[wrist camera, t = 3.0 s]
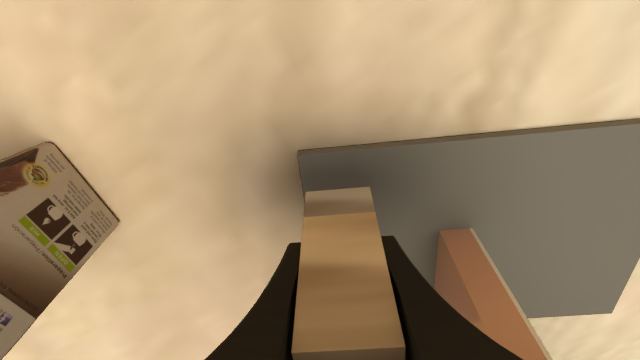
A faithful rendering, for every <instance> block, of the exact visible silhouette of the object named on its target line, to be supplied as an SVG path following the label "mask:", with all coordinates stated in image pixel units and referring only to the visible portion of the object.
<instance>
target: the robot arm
mask: <svg viewBox="0 0 640 360" xmlns="http://www.w3.org/2000/svg"><path fill="white" fill-rule="evenodd" d="M381 239H382V244H383V248H384V253H385V257H386V262H387V266H388V271H389V275H390V280H391V284H392V289H393V293H394V298H395V302H396V307H397V311H398V315H399V320H400V324H401V329H402V333H403V338H404V342H405V347H406V348H405V360H523V359H522V358H520V357H519V356H517V355H515V354H514V353H512V352H511V351H509V350H508V349H506V348H504V347H503V346H501V345H500V344H498V343H497V342H495V341H494V340H493V339H491V338H490V337H488V336H487V335H486V334H484V333H483V332H482V331H480V330H479V329H478V328H477V327H475V326H474V325H473V324H472V323H470V322H469V321H468V320H467V319H465V318H464V317H463V316H462V315H461V314H460V313H458V312H457V311H456V310H455V309H454V308H453V307H452V306H451V305H450V304H449V303H448V302H447V301H445V300H444V299H443V298H442V297H441V296H440V295H439V294H438V293H437V291H436V290H435V289H434V288H433V287H432V286H431V285H430V284H429V283H428V282H427V280H426V279H425V278H424V277H423V276H422V275H421V273H420V272H419V271H418V270H417V268H416V267H415V266H414V265H413V263H412V262H411V261H410V259H409V258H408V257H407V255H406V254H405V252H404V251H403V249H402V248H401V246H400V245H399V243H398V241H397V240H396V238H395V237H394V236H393V235H391V236H381ZM300 251H301V242H299V243H290V244H289V245H288V247H287V249H286V251H285V253H284V256H283V258H282V260H281V262H280V264H279V266H278V268H277V269H276V271H275V273H274V275H273V276H272V278H271V280H270V282H269V283H268V285H267V286H266V288H265V290H264V291H263V293H262V294H261V296H260V297H259V299H258V300H257V302H256V303H255V304H254V306H253V307H252V308H251V310H250V311H249V312H248V314H247V315H246V316H245V317H244V319H243V320H242V321H241V322H240V323H239V325H238V326H237V327H236V328H235V329H234V330H233V332H232V333H231V334H230V335H229V336H228V337H227V338H226V339H225V340H224V341H223V342H222V343H221V344H220V345H219V346H218V347H217V348H216V349H215V350H214V351H213V352H212V353H211V354H210V355H209V356H208V357H207V358H206V359H205V360H293V357H292V353H291V352H292V341H293V330H294V319H295V307H296V296H297V285H298V274H299V263H300Z"/></svg>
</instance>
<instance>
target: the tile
mask: <svg viewBox="0 0 640 360" xmlns="http://www.w3.org/2000/svg"><path fill="white" fill-rule="evenodd" d="M434 289H435V290H436V291H437V293H438V294H439V295H440V296H441V297H442V298H443V299H444V300H445V301H447V302H448V303H449V304H450V305H451V306H452V307H453V308H454V309H455V310H456V311H457V312H458V313H460V314H461V315H462V316H463V317H464V318H465V319H467V320H468V321H469V322H470V323H472V324H473V325H474V326H475V327H477V328H478V329H479V330H480V331H482V332H483V333H484V334H486V335H487V336H488V337H490V338H491V339H493V340H494V341H495V342H497V343H498V344H500V345H501V346H503V347H504V348H506V349H508V350H509V351H511V352H512V353H514V354H515V355H517V356H519V357H520V358H522V359H523V360H552V358H551V356H550V355H549V353H548V351H547V350H546V348H545V346H544V345H543V343H542V341H541V340H540V338H539V336H538V335H537V333H536V332H535V330H534V328H533V327H532V325H531V323H530V322H529V320H528V318H527V317H526V315H525V313H524V312H523V310H522V309H521V307H520V305H519V304H518V302H517V300H516V299H515V297H514V295H513V294H512V292H511V290H510V289H509V287H508V285H507V284H506V282H505V281H504V279H503V277H502V276H501V274H500V272H499V271H498V269H497V267H496V266H495V264H494V262H493V261H492V259H491V258H490V256H489V254H488V253H487V251H486V249H485V248H484V246H483V244H482V243H481V241H480V239H479V238H478V236H477V235H476V233H475V231H474V230H473V228H466V229H453V230H440V231H439V240H438V251H437V261H436V272H435V283H434Z"/></svg>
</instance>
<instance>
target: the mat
mask: <svg viewBox="0 0 640 360" xmlns="http://www.w3.org/2000/svg"><path fill="white" fill-rule="evenodd" d="M297 157H298V163H299V170H300V176H301V182H302V189H303V195H304V202H305V195H306V192H311V191H323V190H335V189H347V188H359V187H370V190H371V195H372V199H373V204H374V208H375V213H376V217H377V221H378V226H379V230H380V235H381V236H391V235H393V236H394V237H395V238H396V240H397V241H398V243H399V245H400V246H401V248H402V249H403V251H404V252H405V254H406V255H407V257H408V258H409V259H410V261H411V262H412V263H413V265H414V266H415V267H416V268H417V270H418V271H419V272H420V273H421V275H422V276H423V277H424V278H425V279H426V280H427V282H428V283H429V284H430V285H431V286H432V287H433V288H434V283H435V272H436V261H437V251H438V240H439V231H440V230H453V229H466V228H473V230H474V231H475V233H476V235H477V236H478V238H479V239H480V241H481V243H482V244H483V246H484V248H485V249H486V251H487V253H488V254H489V256H490V258H491V259H492V261H493V262H494V264H495V266H496V267H497V269H498V271H499V272H500V274H501V276H502V277H503V279H504V281H505V282H506V284H507V285H508V287H509V289H510V290H511V292H512V294H513V295H514V297H515V299H516V300H517V302H518V304H519V305H520V307H521V309H522V310H523V312H524V313H525V315H526V317H527V318H541V317H557V316H574V315H590V314H606V313H612V312H613V310H614V308H615V306H616V304H617V302H618V300H619V298H620V296H621V294H622V292H623V290H624V288H625V286H626V284H627V282H628V280H629V278H630V276H631V274H632V272H633V270H634V268H635V266H636V264H637V262H638V260H639V258H640V119H631V120H621V121H610V122H599V123H589V124H578V125H567V126H556V127H546V128H535V129H524V130H514V131H503V132H492V133H481V134H471V135H460V136H449V137H439V138H428V139H417V140H406V141H396V142H385V143H374V144H363V145H353V146H342V147H331V148H321V149H310V150H299V151H298V154H297Z"/></svg>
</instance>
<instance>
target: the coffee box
mask: <svg viewBox="0 0 640 360" xmlns="http://www.w3.org/2000/svg"><path fill="white" fill-rule="evenodd" d="M117 225H118V221H117V219H116V218H115V217H114V216H113V214H112V213H111V212H110V211H109V210H108V208H107V207H106V206H105V205H104V204H103V203H102V201H101V200H100V199H99V198H98V197H97V195H96V194H95V193H94V192H93V190H92V189H91V188H90V187H89V186H88V185H87V183H86V182H85V181H84V180H83V178H82V177H81V176H80V175H79V174H78V172H77V171H76V170H75V169H74V168H73V167H72V165H71V164H70V163H69V162H68V161H67V159H66V158H65V157H64V156H63V155H62V153H61V152H60V151H59V150H58V149H57V147H56V146H55V145H53V144H52V143H48V142H46V143H43V144H40V145H38V146H35V147H32V148H30V149H27V150H25V151H23V152H20V153H18V154H15V155H13V156H11V157H8V158H6V159H4V160H1V161H0V360H2V359H3V357H4V356H5V355H6V354H7V353H8V352H9V351H10V350H11V349H12V347H13V346H14V345H15V344H16V343H17V342H18V340H19V339H20V338H21V337H22V336H23V335H24V333H25V332H26V331H27V330H28V329H29V328H30V327H31V325H32V324H33V323H34V321H35V320H36V319H37V318H38V317H39V315H40V314H41V313H42V312H43V311H44V310H45V309H46V307H47V306H48V305H49V304H50V303H51V302H52V300H53V299H54V298H55V297H56V296H57V295H58V293H59V292H60V291H61V290H62V289H63V288H64V287H65V285H66V284H67V283H68V282H69V281H70V280H71V279H72V278H73V276H74V275H75V274H76V273H77V272H78V271H79V269H80V268H81V267H82V266H83V265H84V263H85V262H86V261H87V260H88V259H89V258H90V256H91V255H92V254H93V253H94V252H95V251H96V250H97V248H98V247H99V246H100V245H101V244H102V243H103V241H104V240H105V239H106V238H107V237H108V236H109V235H110V234H111V232H112V231H113V230H114V229H115V228H116V227H117Z"/></svg>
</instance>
